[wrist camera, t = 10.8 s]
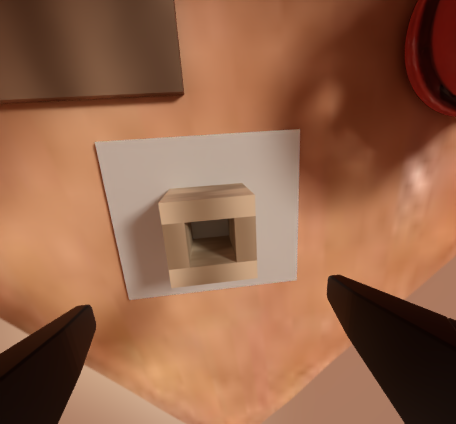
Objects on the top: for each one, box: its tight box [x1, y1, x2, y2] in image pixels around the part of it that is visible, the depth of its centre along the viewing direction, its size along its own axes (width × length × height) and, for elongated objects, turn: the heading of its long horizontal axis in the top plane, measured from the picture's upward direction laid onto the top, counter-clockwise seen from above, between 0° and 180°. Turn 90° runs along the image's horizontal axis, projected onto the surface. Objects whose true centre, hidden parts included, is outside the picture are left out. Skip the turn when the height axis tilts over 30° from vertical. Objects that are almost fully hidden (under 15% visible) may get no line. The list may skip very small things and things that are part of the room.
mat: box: [95, 129, 300, 300], centre depth 20 cm, size 16×14×1 cm
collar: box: [158, 183, 258, 288], centre depth 17 cm, size 6×6×5 cm
